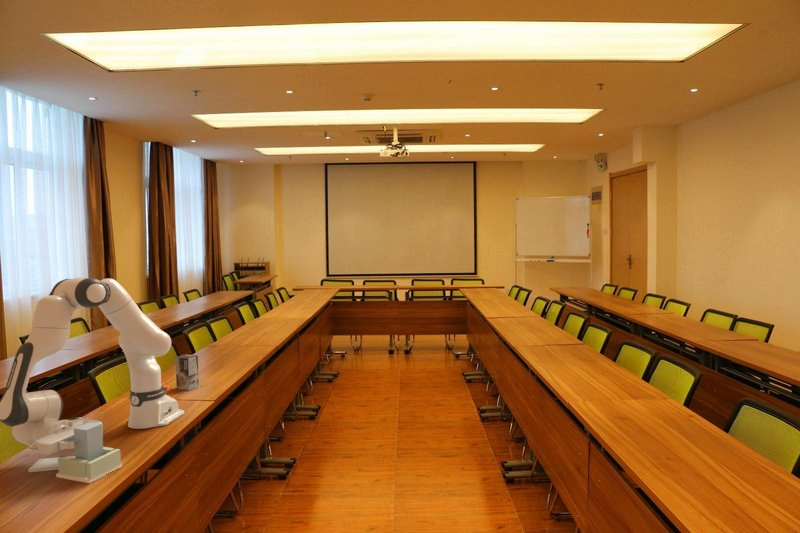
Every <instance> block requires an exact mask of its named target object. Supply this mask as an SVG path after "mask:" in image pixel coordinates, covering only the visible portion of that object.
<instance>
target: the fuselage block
mask: <svg viewBox="0 0 800 533" xmlns="http://www.w3.org/2000/svg"><path fill="white" fill-rule="evenodd" d="M102 425H103V423H102V424H98V423H91V422H88V423H86V424H83V425H81V426H78V427H76V428H74V442H77V447H76V448H74V456H75V458H76V459H82V460H88V461H89V462H90V461H92V460H94V459H96V458H98V457H101V456H103V447H104V433H103V434H102Z"/></svg>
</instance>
